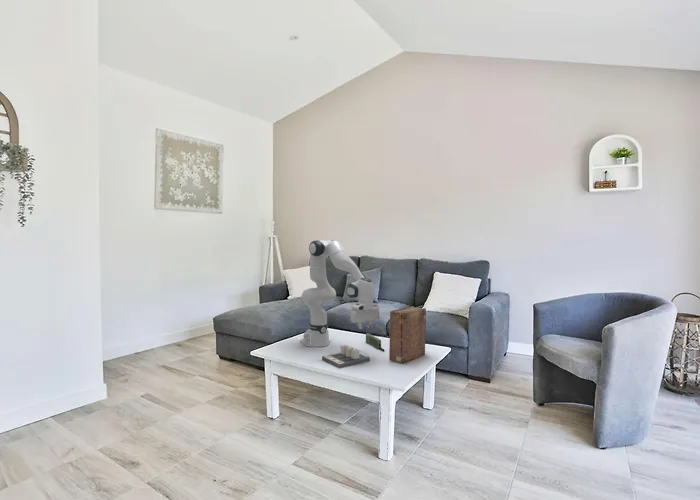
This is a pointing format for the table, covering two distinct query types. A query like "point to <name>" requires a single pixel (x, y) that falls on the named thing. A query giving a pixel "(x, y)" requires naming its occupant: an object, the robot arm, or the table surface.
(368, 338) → the handheld radio
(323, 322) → the robot arm
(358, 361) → the switch panel
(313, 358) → the table surface
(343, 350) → the tab inner
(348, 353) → the tab middle
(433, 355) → the table surface
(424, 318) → the book
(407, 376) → the table surface
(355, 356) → the block
